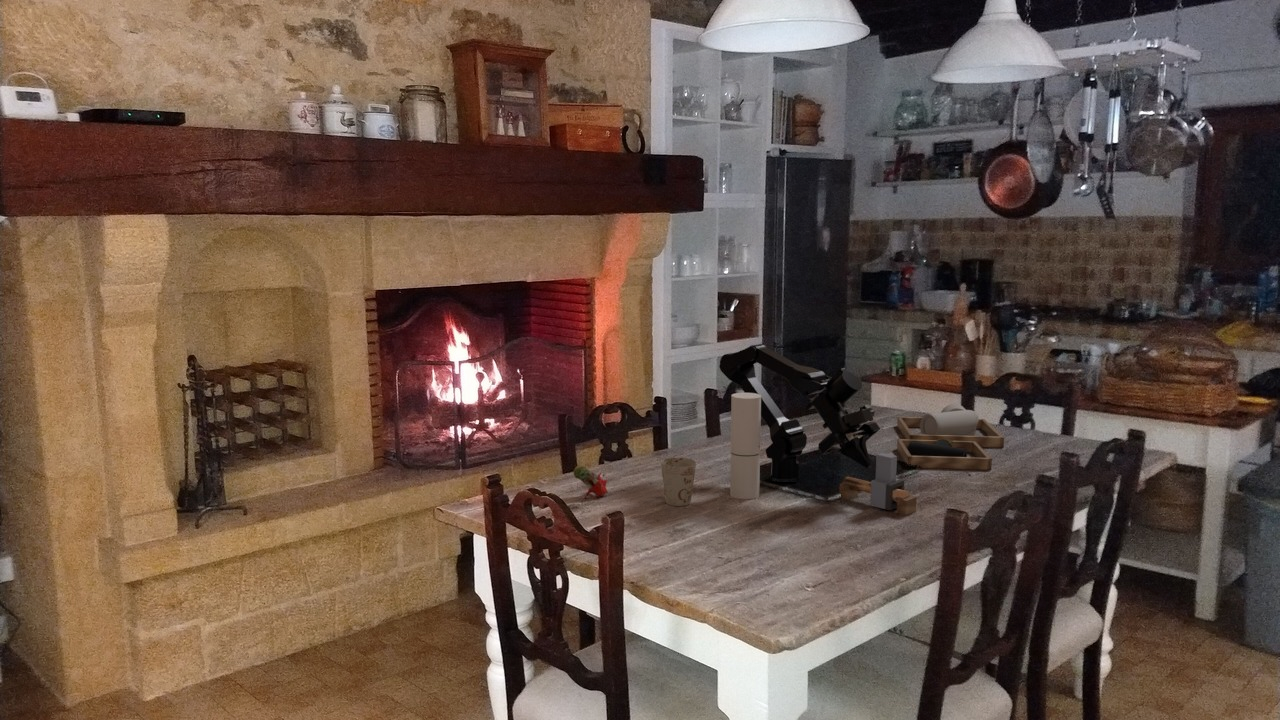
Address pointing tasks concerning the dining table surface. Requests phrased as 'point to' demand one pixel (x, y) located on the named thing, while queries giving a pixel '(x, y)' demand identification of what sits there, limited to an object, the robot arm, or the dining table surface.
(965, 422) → the elbow connector
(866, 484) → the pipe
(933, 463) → the wooden tray
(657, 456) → the dining table surface
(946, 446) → the pipe connector
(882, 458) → the sleeve
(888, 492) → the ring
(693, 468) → the beige paper cup
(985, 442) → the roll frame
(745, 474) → the cylindrical container
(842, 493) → the cradle
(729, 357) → the robot arm
